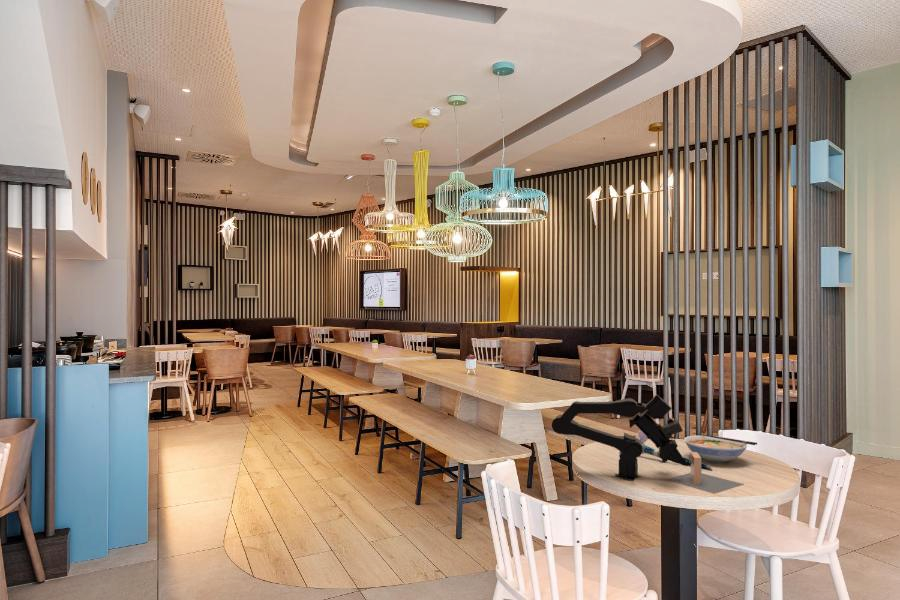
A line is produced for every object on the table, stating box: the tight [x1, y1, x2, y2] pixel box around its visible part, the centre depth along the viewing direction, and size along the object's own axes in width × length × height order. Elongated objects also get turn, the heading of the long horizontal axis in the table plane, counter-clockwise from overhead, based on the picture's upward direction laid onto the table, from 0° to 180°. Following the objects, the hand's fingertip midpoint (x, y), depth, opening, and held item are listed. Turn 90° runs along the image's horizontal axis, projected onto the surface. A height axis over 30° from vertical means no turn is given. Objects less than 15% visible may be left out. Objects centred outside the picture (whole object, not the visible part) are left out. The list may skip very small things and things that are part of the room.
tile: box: [690, 451, 702, 485], centre depth 194 cm, size 2×8×9 cm, turn 164°
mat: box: [664, 472, 745, 494], centre depth 193 cm, size 18×18×1 cm
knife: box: [642, 443, 714, 472], centre depth 218 cm, size 31×3×4 cm, turn 38°
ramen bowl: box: [683, 432, 758, 463], centre depth 224 cm, size 25×23×8 cm
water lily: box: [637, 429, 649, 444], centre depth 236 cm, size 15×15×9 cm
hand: (684, 462), depth 195 cm, fingers closed
